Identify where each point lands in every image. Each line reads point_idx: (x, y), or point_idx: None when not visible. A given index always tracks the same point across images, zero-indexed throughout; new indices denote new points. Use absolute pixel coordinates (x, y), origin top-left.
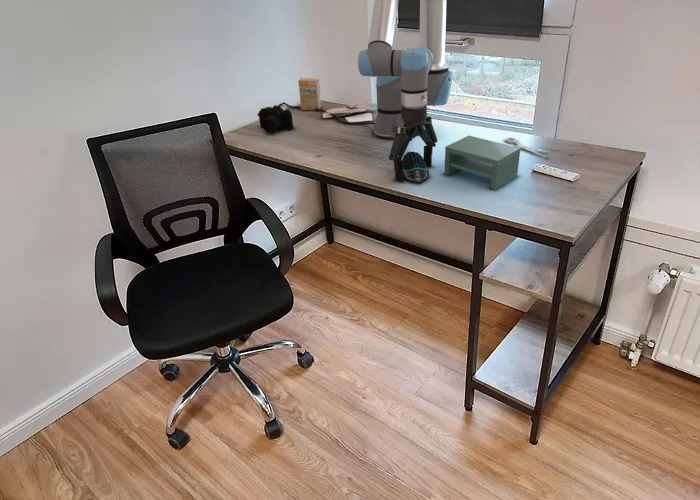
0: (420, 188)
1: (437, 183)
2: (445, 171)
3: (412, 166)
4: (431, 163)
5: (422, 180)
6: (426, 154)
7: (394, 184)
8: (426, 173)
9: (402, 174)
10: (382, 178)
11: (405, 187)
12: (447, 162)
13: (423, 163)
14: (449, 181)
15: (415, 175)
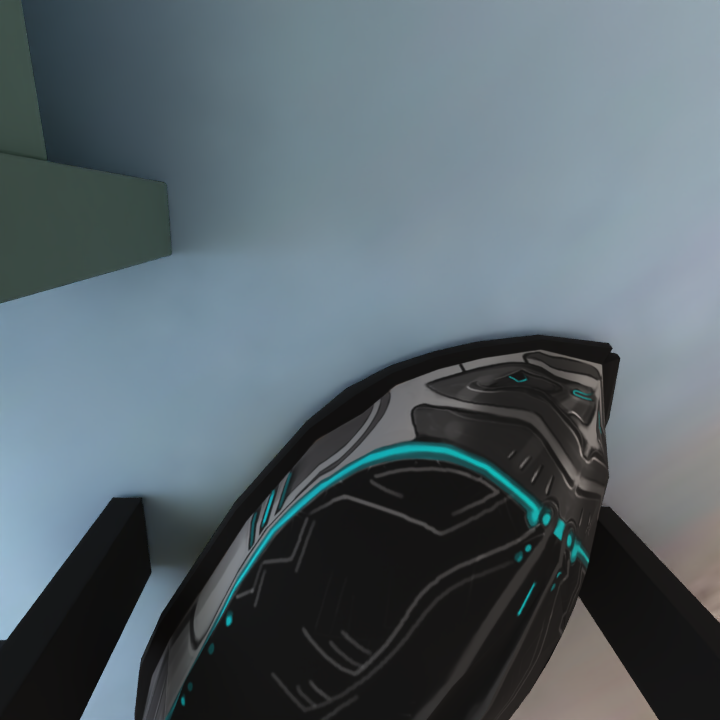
0: (677, 270)
1: (469, 169)
2: (151, 240)
3: (559, 598)
4: (93, 527)
5: (551, 346)
6: (60, 702)
7: (666, 519)
8: (417, 398)
9: (651, 565)
10: (590, 643)
11: (698, 411)
12: (42, 201)
13: (389, 552)
14: (324, 43)
15: (599, 450)
